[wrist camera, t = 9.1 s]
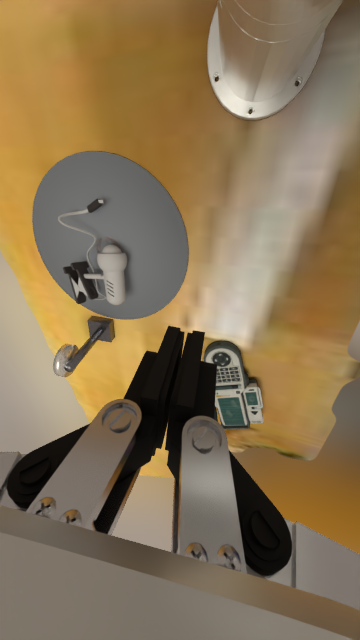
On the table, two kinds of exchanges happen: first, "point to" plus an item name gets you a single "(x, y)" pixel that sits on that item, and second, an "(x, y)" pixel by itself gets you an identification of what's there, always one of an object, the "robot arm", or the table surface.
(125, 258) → the clip-on lamp
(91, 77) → the table surface
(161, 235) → the mat
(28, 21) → the table surface
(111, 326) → the square-base wall hook
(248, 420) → the communication device
